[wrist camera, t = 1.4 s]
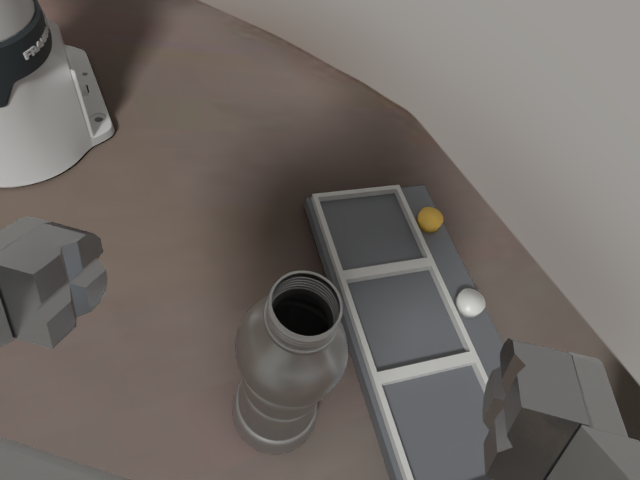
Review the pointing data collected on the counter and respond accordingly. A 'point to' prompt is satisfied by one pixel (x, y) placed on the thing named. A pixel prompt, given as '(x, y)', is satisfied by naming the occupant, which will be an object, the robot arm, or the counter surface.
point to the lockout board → (410, 327)
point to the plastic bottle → (288, 361)
